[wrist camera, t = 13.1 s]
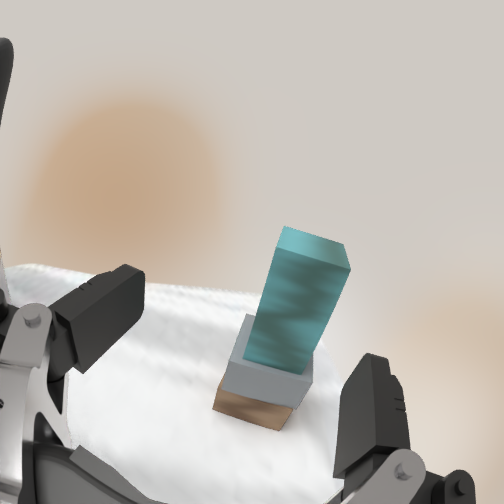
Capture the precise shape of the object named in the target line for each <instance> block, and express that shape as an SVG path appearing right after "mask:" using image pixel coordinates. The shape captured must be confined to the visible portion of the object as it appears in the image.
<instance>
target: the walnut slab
mask: <svg viewBox="0 0 504 504" xmlns="http://www.w3.org/2000/svg"><path fill="white" fill-rule="evenodd" d="M225 373H226V372H225ZM224 376H225V374H224ZM224 376H223V378H222V380H221V382H220V384H219V386H218V389H217V393H216V397H215V401H214V405H213V410H216V411H218V412H221V413H224V414H227V415H229V416H232V417H235V418H238V419H241V420H244V421H247V422H250V423H253V424H256V425H259V426H263V427H266V428H270V429H273V430H277V431H280V429H281V428H282V426H283V425H284V423H285V422H286V420H287V419H288V417H289V415H290V414H291V412H292V410H293V408H288V407H284V406H279V405H275V404H271V403H267V402H263V401H259V400H256V399H252V398H248V397H245V396H241V395H238V394H235V393H231V392H228V391H225V390H222V389H221V387H222V384H223V380H224Z"/></svg>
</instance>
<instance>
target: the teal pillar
mask: <svg viewBox="0 0 504 504" xmlns="http://www.w3.org/2000/svg"><path fill="white" fill-rule="evenodd" d="M350 270H351V268H350V265H349V262H348V258H347V255H346V251H345V248H344V245H343V244H341V243H338V242H335V241H332V240H328V239H325V238H322V237H318V236H316V235H312V234H309V233H306V232H303V231H299V230H296V229H293V228H289V227H286V226H284V227H283V230H282V233H281V236H280V238H279V241H278V243H277V246H276V249H275V253H274V256H273V260H272V263H271V266H270V270H269V273H268V277H267V280H266V283H265V287H264V290H263V293H262V297H261V300H260V303H259V307H258V310H257V313H256V316H255V320H254V323H253V326H252V329H251V333H250V336H249V339H248V342H247V346H246V349H245V352H244V355H243V358H242V359H245V360H248V361H251V362H255V363H258V364H261V365H265V366H268V367H272V368H275V369H279V370H282V371H286V372H290V373H293V374H297V375H302V373H303V371H304V369H305V367H306V365H307V363H308V361H309V359H310V358H311V356H312V354H313V352H314V350H315V348H316V346H317V344H318V342H319V340H320V338H321V336H322V334H323V331H324V329H325V327H326V325H327V323H328V321H329V319H330V316H331V314H332V312H333V310H334V308H335V306H336V303H337V301H338V299H339V296H340V294H341V292H342V290H343V287H344V285H345V283H346V280H347V278H348V276H349V273H350Z"/></svg>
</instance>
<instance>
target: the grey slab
mask: <svg viewBox="0 0 504 504" xmlns="http://www.w3.org/2000/svg"><path fill="white" fill-rule="evenodd" d="M254 320H255V316H253V315H250V314H247V313H246V316H245V319H244V321H243V324H242V327H241V329H240V332H239V335H238V337H237V340H236V343H235V345H234V348H233V351H232V353H231V356H230V359H229V361H228V365H227V369H226V373H225V376H224V380H223V384H222V387H221V389H222V390H225V391H228V392H231V393H235V394H238V395H241V396H245V397H248V398H252V399H256V400H259V401H263V402H267V403H271V404H275V405H279V406H284V407H288V408H293V409H297V407H298V406H299V404H300V402H301V401H302V399H303V398H304V396H305V394H306V393H307V391H308V390H309V388H310V386H311V385H312V383H313V354H312V356H311V358H310V359H309V361H308V363H307V365H306V367H305V369H304V371H303V373H302V375H297V374H293V373H290V372H286V371H282V370H279V369H275V368H272V367H268V366H265V365H261V364H258V363H255V362H251V361H248V360H245V359H242V358H243V355H244V352H245V349H246V346H247V342H248V339H249V336H250V333H251V329H252V326H253V323H254Z"/></svg>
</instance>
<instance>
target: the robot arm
mask: <svg viewBox="0 0 504 504" xmlns="http://www.w3.org/2000/svg"><path fill="white" fill-rule="evenodd" d="M13 59H14V52H13V46H12V43H11V42H10V40H9V39H7V38H0V125H1V119H2V113H3V108H4V104H5V99H6V95H7V91H8V87H9V82H10V78H11V72H12V67H13ZM144 294H145V274H144V272H143V271H141V270H139V269H136V268H134V267H132V266H130V265H127V264H124V265H122V266H120V267H119V268H117V269H115V270H114V271H112V272H111V271H109V272H106V273H102V274H98V275H96V276H95V277H93V278H91V279H90V280H88V281H87V283H83V284H82V285H80V286H79V288H76V289H74V290H73V291H71V292H70V293H68V294H67V295H65V296H64V297H62V298H61V299H59V300H58V301H56V302H55V303H53V304H52V305H50V306H49V307H46V306H44V305H42V304H37V303H33V304H27V305H25V306H23V307H21V308H17V307H15V306H12V302H11V298H10V294H9V290H8V286H7V281H6V277H5V272H4V267H3V262H2V256H1V250H0V504H166V503H162V502H158V501H154V500H151V499H149V498H147V497H146V496H144V495H143V494H142V493H141V492H140V491H138V490H137V489H136V488H135V487H134V486H133V485H131V484H130V483H129V482H128V481H127V480H126V479H125V478H124V477H123V476H121V475H120V474H119V473H118V472H117V471H116V470H115V469H114V468H113V467H111V466H110V465H108V464H107V463H105V462H103V461H102V460H100V459H99V458H97V457H96V456H95V455H93V454H92V453H90V452H89V451H87V450H86V449H85V448H83V447H82V446H81V445H79V446H78V447H77V449H76V450H73V449H72V441H71V436H70V431H69V428H68V424H67V399H68V382H69V373H68V371H69V370H70V369H71V368H72V367H74V368H75V369H77V370H78V371H79V372H81V373H82V374H84V373H85V372H86V371H87V370H88V369H89V368H90V367H91V366H92V365H93V364H94V363H95V362H96V361H97V360H98V359H99V358H100V357H101V356H102V355H103V354H104V353H105V352H106V351H107V350H108V349H109V348H110V347H111V346H112V345H113V344H114V343H115V342H117V341H118V340H119V339H120V338H121V337H122V336H123V335H124V334H125V333H126V332H127V331H128V330H129V329H130V328H131V327H132V326H133V325H134V324H135V323H136V322H137V321H138V320H139V319H140V317H141V315H142V313H143V310H144ZM405 410H406V408H405V402H404V395H403V389H402V386H401V385H400V383H399V381H398V379H397V378H396V376H395V375H391V373H390V367H389V362H388V359H387V358H384V357H380V356H377V355H373V354H370V353H366V354H365V355H364V356H363V358H362V359H361V361H360V362H359V364H358V365H357V366H356V368H355V369H354V371H353V372H352V374H351V375H350V377H349V378H348V380H347V381H346V383H345V384H344V386H343V389H342V392H341V396H340V408H339V423H338V435H337V446H336V455H335V464H334V472H333V478H338V479H345V480H344V486H343V487H342V488H341V489H339V490H338V491H337V492H336V493H335V494H334V495H333V496H331V497H330V498H329V499H328V500H327V501H326V502H325V503H323V504H476V498H475V485H474V481H473V479H472V477H471V476H470V475H469V474H468V473H467V472H466V471H464V470H455V471H453V472H452V473H450V474H448V475H447V476H446V477H442V476H440V475H437V474H434V473H431V472H428V471H426V469H425V464H424V462H423V460H422V459H421V457H420V456H419V455H418V454H417V453H415V452H413V451H411V449H410V439H409V430H408V422H407V415H406V412H405Z"/></svg>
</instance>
